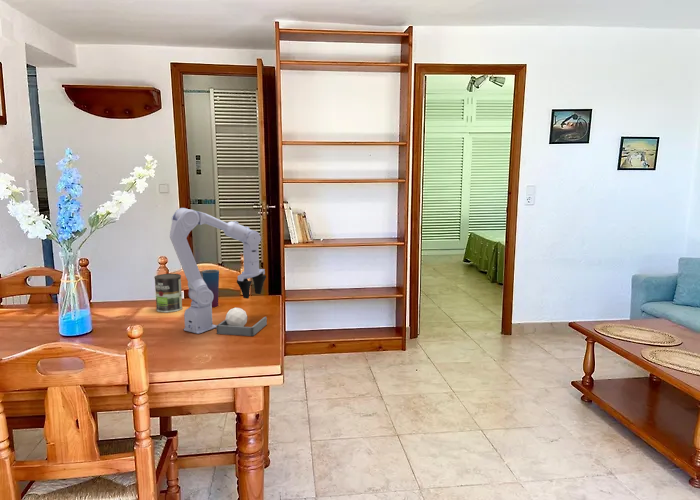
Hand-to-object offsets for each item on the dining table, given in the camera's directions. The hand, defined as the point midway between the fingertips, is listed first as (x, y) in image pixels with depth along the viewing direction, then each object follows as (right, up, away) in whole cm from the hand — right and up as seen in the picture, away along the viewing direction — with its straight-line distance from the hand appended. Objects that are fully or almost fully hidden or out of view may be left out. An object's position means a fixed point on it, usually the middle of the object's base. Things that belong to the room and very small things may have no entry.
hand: (252, 295), depth 193 cm
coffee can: (-37, -7, +15) cm, 41 cm away
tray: (-1, -11, -10) cm, 15 cm away
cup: (-21, -6, +21) cm, 30 cm away
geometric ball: (-4, -11, -9) cm, 15 cm away
